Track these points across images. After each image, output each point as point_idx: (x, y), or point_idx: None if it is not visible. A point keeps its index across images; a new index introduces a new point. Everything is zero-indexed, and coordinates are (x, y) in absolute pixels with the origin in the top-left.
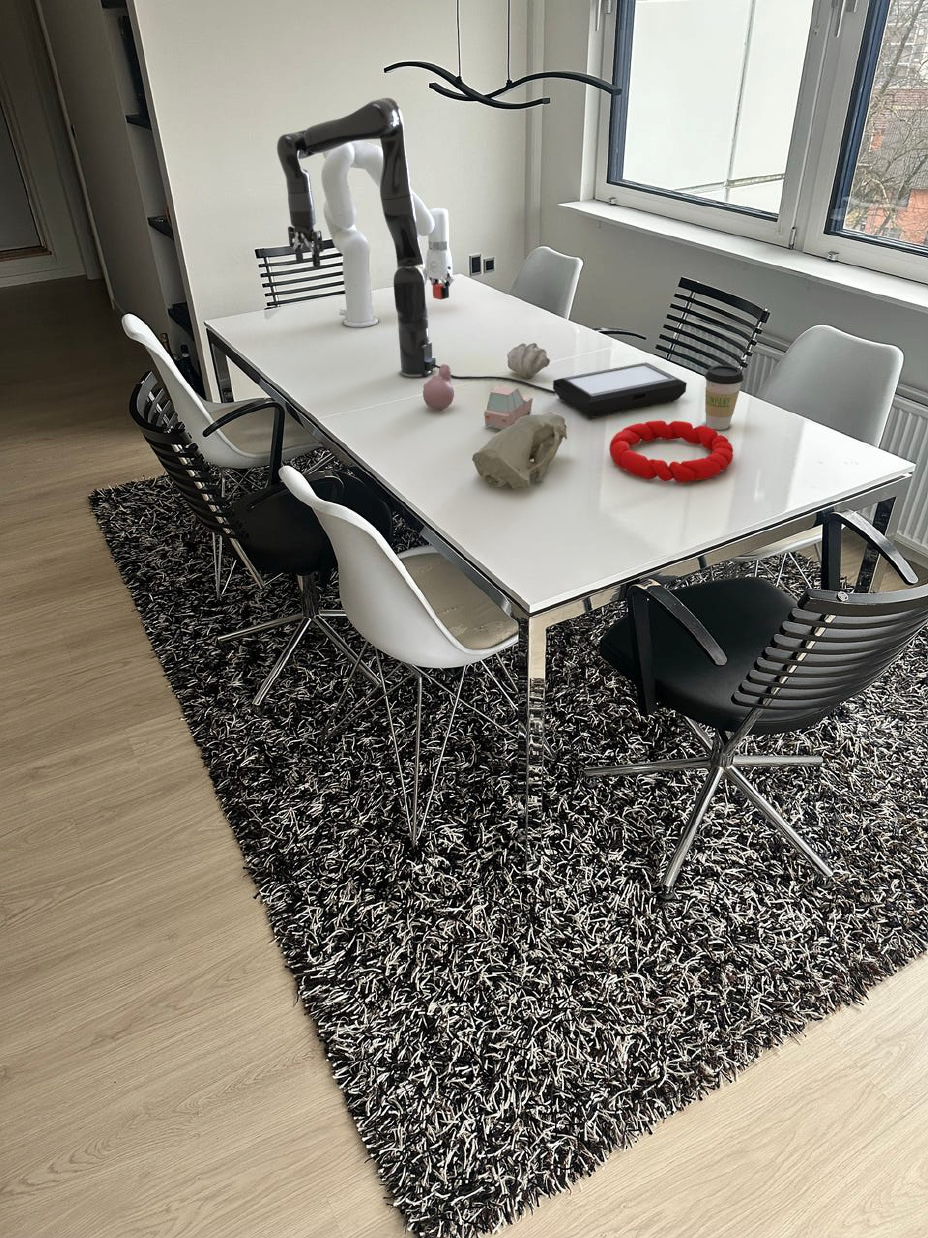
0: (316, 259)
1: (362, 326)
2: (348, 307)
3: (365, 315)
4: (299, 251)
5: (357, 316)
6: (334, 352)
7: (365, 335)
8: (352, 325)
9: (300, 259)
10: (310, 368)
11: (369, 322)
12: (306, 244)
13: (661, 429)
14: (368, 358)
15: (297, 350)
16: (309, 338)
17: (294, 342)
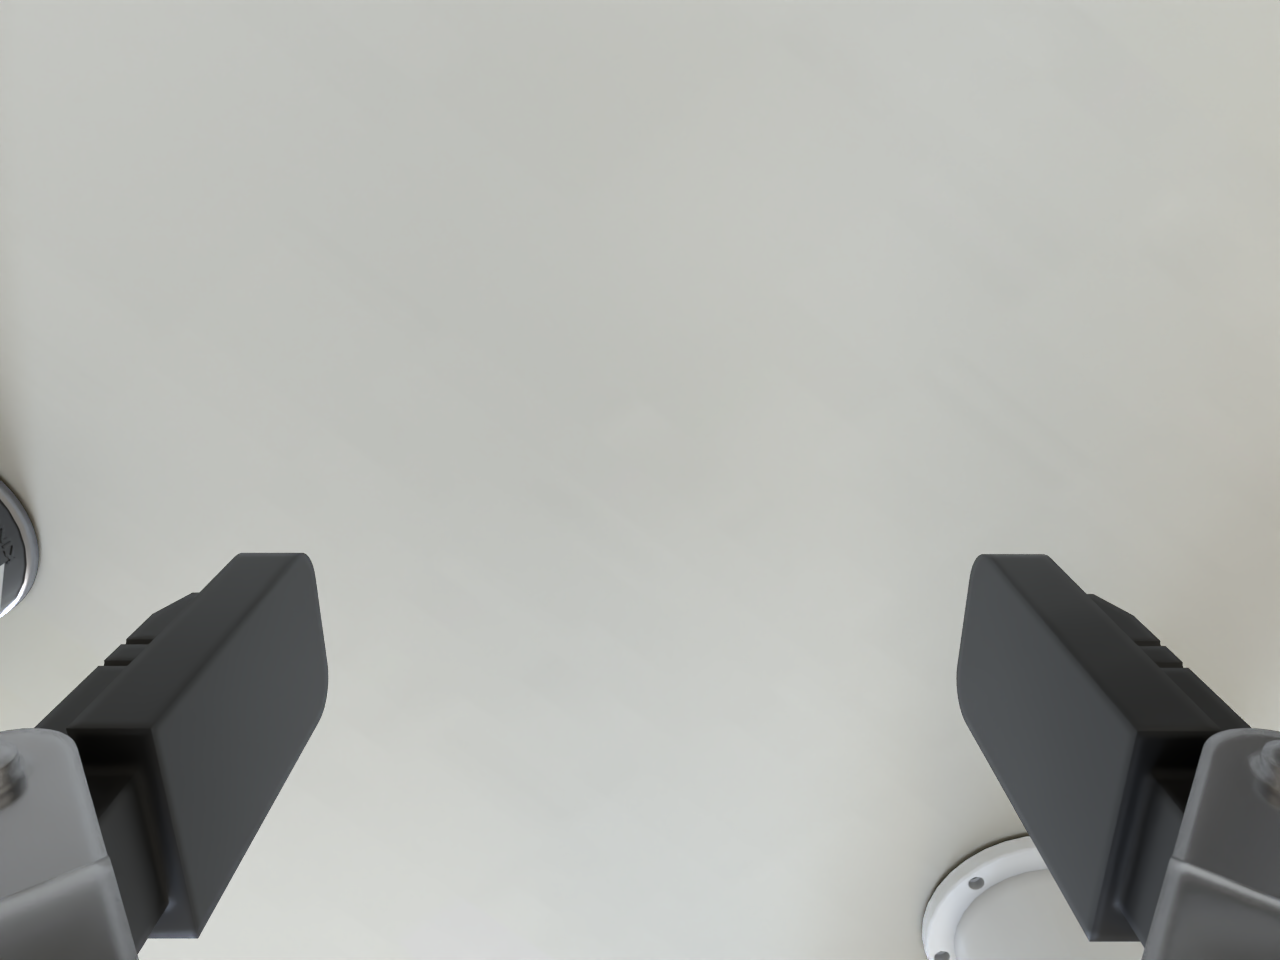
0: (95, 683)
1: (949, 873)
2: (1107, 948)
3: (976, 954)
4: (1085, 802)
5: (1011, 918)
6: (698, 456)
7: (808, 788)
8: (1009, 845)
9: (986, 657)
10: (540, 103)
11: (940, 927)
12: (95, 957)
13: None
14: (410, 523)
15: (963, 308)
16: (1094, 534)
17: (1126, 410)
